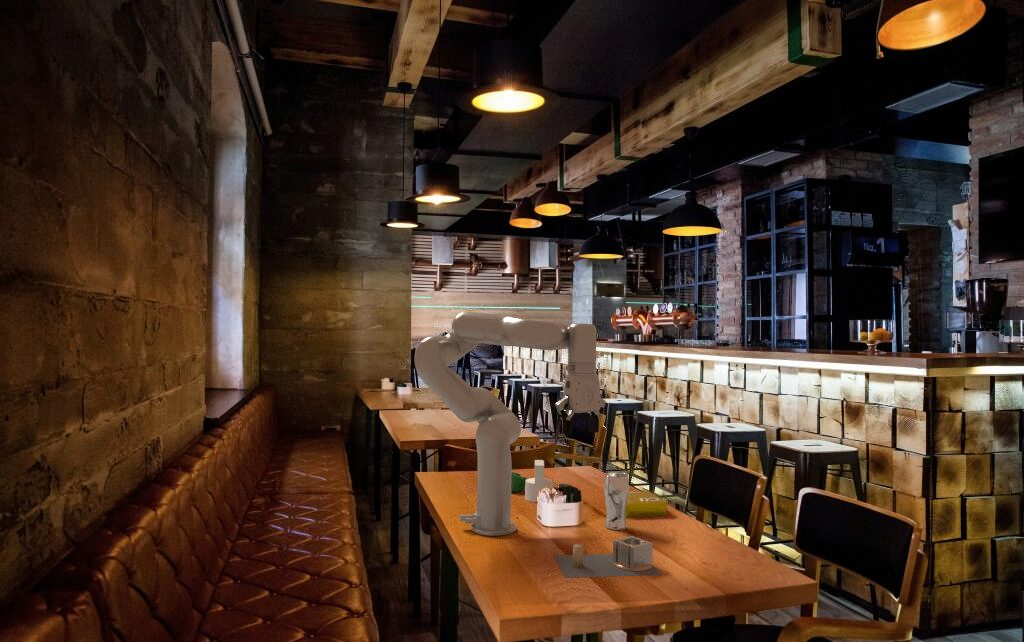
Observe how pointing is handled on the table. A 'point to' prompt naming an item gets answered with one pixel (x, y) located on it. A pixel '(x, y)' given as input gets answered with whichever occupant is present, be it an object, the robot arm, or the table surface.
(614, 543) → the steel collar
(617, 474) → the beer glass
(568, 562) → the stand board
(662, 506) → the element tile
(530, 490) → the cylinder with rectangular tab
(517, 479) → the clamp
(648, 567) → the peg on flat base
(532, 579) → the table surface
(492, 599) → the table surface
